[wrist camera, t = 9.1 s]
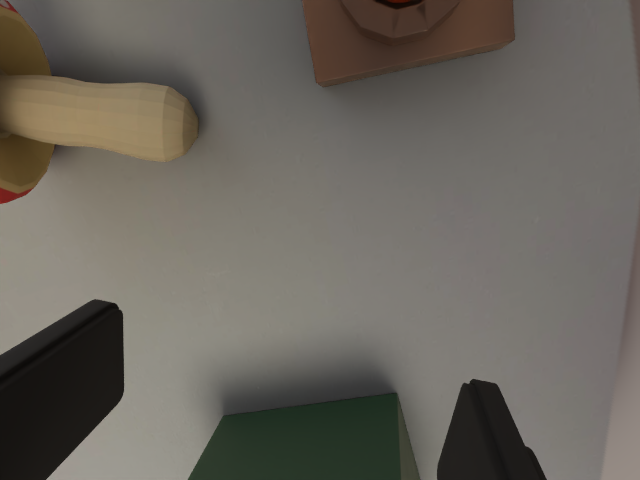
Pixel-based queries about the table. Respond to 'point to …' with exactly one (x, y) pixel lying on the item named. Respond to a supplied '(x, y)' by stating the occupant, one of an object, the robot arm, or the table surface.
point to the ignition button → (398, 1)
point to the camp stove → (312, 443)
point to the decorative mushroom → (76, 113)
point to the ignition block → (400, 34)
